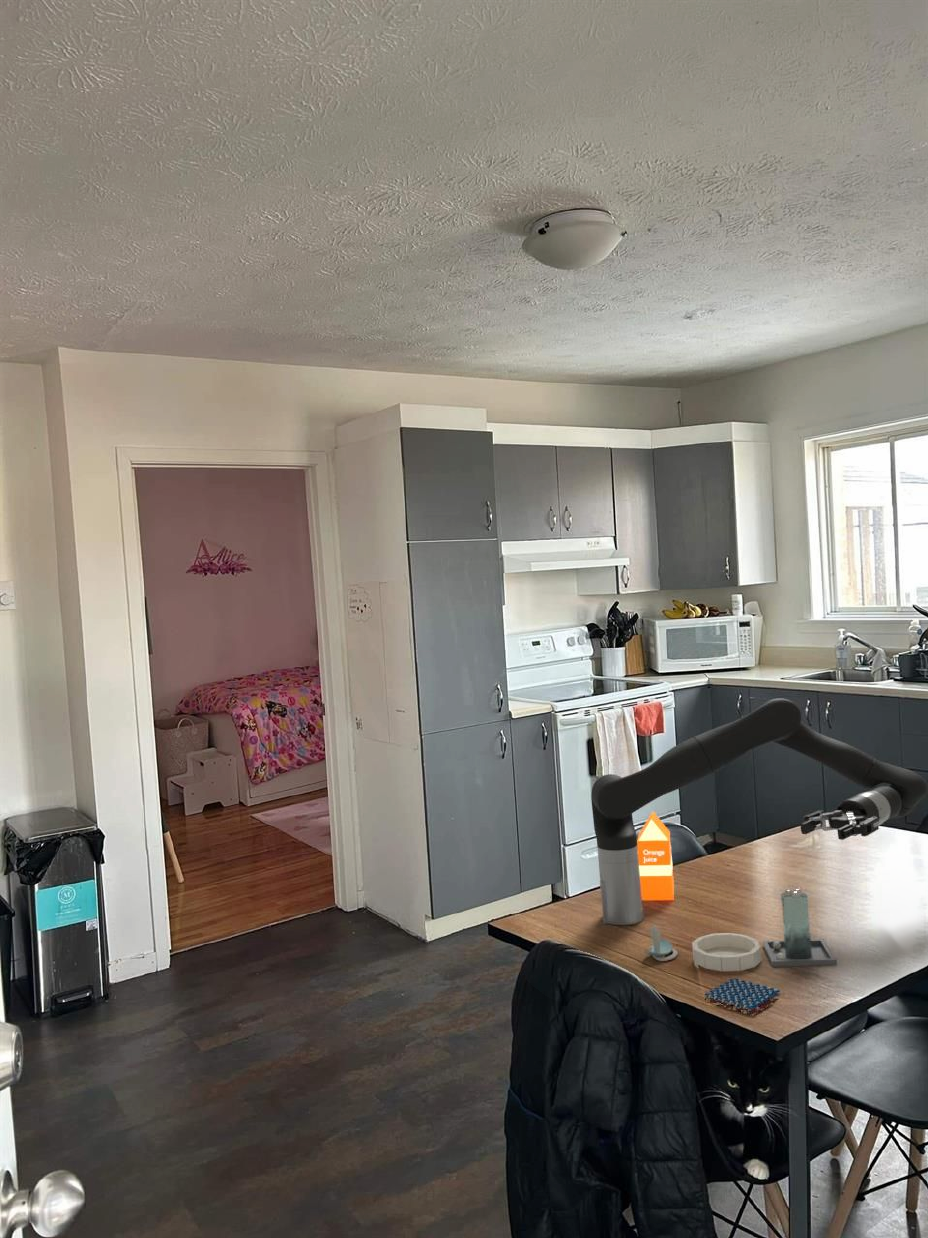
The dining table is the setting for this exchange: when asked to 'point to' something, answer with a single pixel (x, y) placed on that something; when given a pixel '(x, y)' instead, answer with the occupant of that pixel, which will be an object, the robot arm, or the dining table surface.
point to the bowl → (726, 952)
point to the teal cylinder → (796, 924)
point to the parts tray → (779, 959)
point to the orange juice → (655, 860)
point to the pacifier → (660, 946)
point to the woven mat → (743, 996)
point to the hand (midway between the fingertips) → (820, 832)
